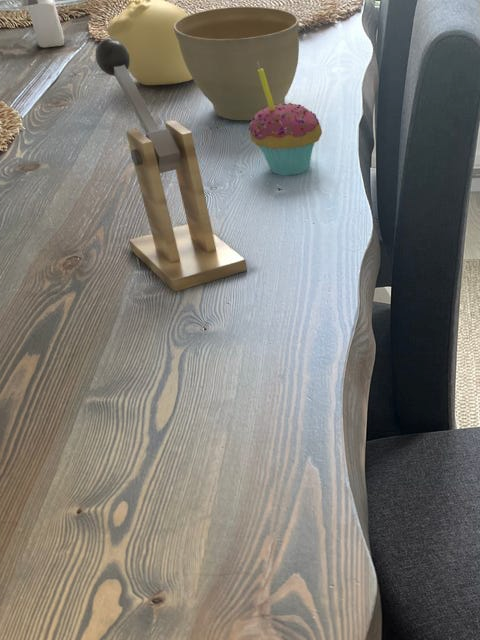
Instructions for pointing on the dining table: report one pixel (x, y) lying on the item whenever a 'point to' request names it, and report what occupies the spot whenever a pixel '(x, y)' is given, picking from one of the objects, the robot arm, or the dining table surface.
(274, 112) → the cupcake
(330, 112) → the dining table surface
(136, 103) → the knife lever
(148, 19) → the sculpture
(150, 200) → the wooden lever stand
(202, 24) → the planter bowl
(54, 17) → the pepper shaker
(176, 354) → the dining table surface
